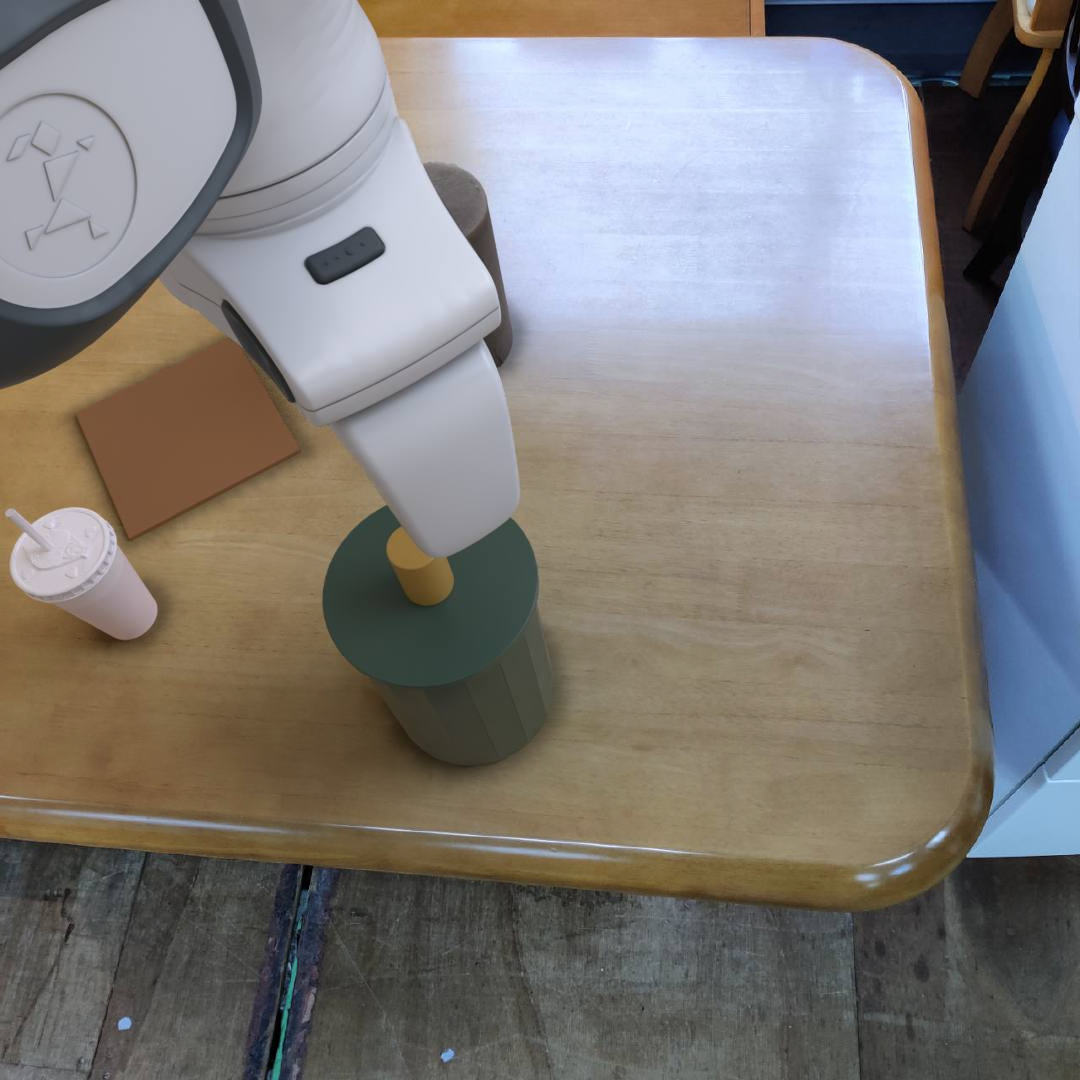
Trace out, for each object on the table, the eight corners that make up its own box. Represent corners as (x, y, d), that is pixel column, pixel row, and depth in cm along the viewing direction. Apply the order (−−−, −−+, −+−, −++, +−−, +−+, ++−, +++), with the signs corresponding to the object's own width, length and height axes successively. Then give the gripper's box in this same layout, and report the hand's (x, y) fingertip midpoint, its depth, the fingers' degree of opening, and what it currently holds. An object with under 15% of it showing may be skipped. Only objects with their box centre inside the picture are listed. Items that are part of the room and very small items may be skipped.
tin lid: (508, 716, 46) (493, 676, 41) (297, 671, 48) (261, 629, 44) (562, 520, 51) (554, 466, 47) (369, 488, 53) (343, 434, 49)
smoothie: (107, 572, 69) (-8, 463, 57) (189, 579, 68) (89, 470, 56) (73, 654, 66) (-55, 557, 54) (159, 662, 65) (47, 566, 53)
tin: (532, 782, 58) (499, 700, 46) (377, 747, 60) (306, 660, 48) (569, 633, 63) (550, 521, 50) (425, 605, 65) (372, 491, 53)
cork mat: (131, 542, 70) (128, 538, 70) (78, 417, 77) (74, 413, 76) (302, 452, 73) (300, 449, 72) (236, 339, 79) (234, 335, 79)
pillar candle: (498, 396, 74) (466, 249, 61) (379, 383, 75) (323, 238, 62) (524, 302, 78) (500, 147, 65) (411, 293, 80) (366, 140, 67)
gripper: (64, 68, 34) (216, 336, 45) (326, 438, 24) (432, 654, 36) (224, -4, 35) (331, 275, 47) (532, 320, 25) (568, 566, 37)
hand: (376, 442), depth 41 cm, fingers open, 8 cm apart
